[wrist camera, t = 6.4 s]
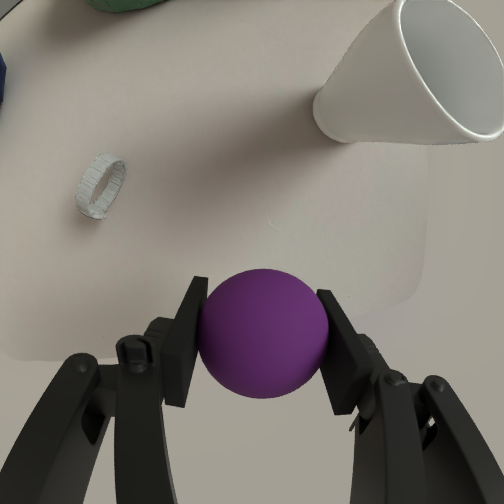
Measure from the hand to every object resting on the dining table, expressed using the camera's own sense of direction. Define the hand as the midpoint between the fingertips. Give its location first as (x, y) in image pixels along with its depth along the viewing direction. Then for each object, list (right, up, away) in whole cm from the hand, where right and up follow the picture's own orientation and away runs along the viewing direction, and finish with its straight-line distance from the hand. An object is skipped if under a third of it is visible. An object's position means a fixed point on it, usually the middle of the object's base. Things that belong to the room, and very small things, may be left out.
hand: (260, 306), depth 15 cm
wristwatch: (-12, +9, +6) cm, 16 cm away
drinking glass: (+7, +14, +5) cm, 17 cm away
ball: (0, -1, -3) cm, 3 cm away
